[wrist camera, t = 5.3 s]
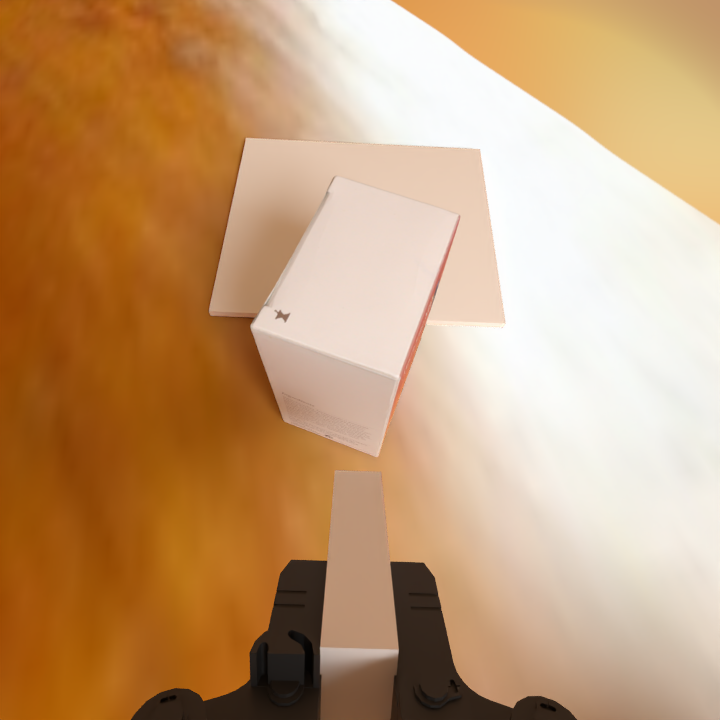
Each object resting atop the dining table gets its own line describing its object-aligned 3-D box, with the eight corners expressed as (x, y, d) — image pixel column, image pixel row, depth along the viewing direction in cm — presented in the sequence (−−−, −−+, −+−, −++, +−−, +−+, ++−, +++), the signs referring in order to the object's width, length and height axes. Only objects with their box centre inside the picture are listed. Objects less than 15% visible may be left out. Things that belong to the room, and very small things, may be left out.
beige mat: (247, 143, 36) (246, 137, 36) (478, 154, 37) (479, 149, 36) (210, 315, 29) (208, 311, 28) (502, 327, 29) (505, 323, 28)
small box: (377, 460, 25) (400, 386, 15) (280, 422, 25) (244, 328, 16) (423, 336, 28) (466, 210, 18) (336, 305, 29) (334, 169, 19)
